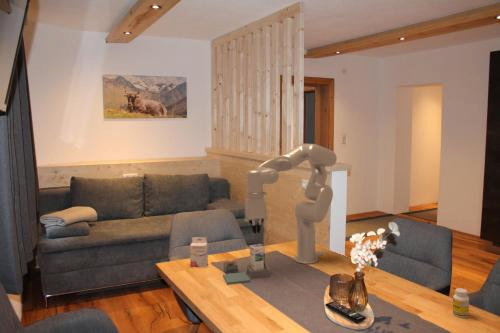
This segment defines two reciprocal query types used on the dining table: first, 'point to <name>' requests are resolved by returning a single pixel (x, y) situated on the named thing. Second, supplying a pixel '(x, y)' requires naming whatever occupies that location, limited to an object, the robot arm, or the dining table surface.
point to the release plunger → (230, 260)
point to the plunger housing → (230, 268)
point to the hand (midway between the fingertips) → (256, 232)
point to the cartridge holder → (258, 272)
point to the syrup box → (257, 257)
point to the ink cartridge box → (199, 252)
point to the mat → (236, 278)
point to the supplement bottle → (461, 303)
